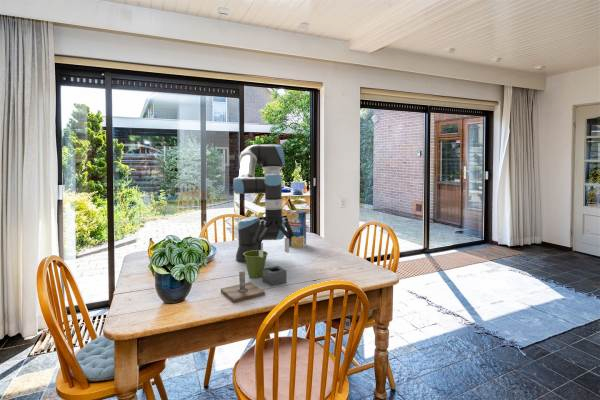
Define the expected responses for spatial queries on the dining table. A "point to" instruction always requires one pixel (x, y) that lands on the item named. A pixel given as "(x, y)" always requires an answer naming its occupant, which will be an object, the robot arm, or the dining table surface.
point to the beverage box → (297, 228)
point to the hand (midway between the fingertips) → (274, 254)
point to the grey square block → (274, 276)
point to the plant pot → (255, 263)
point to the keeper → (242, 290)
